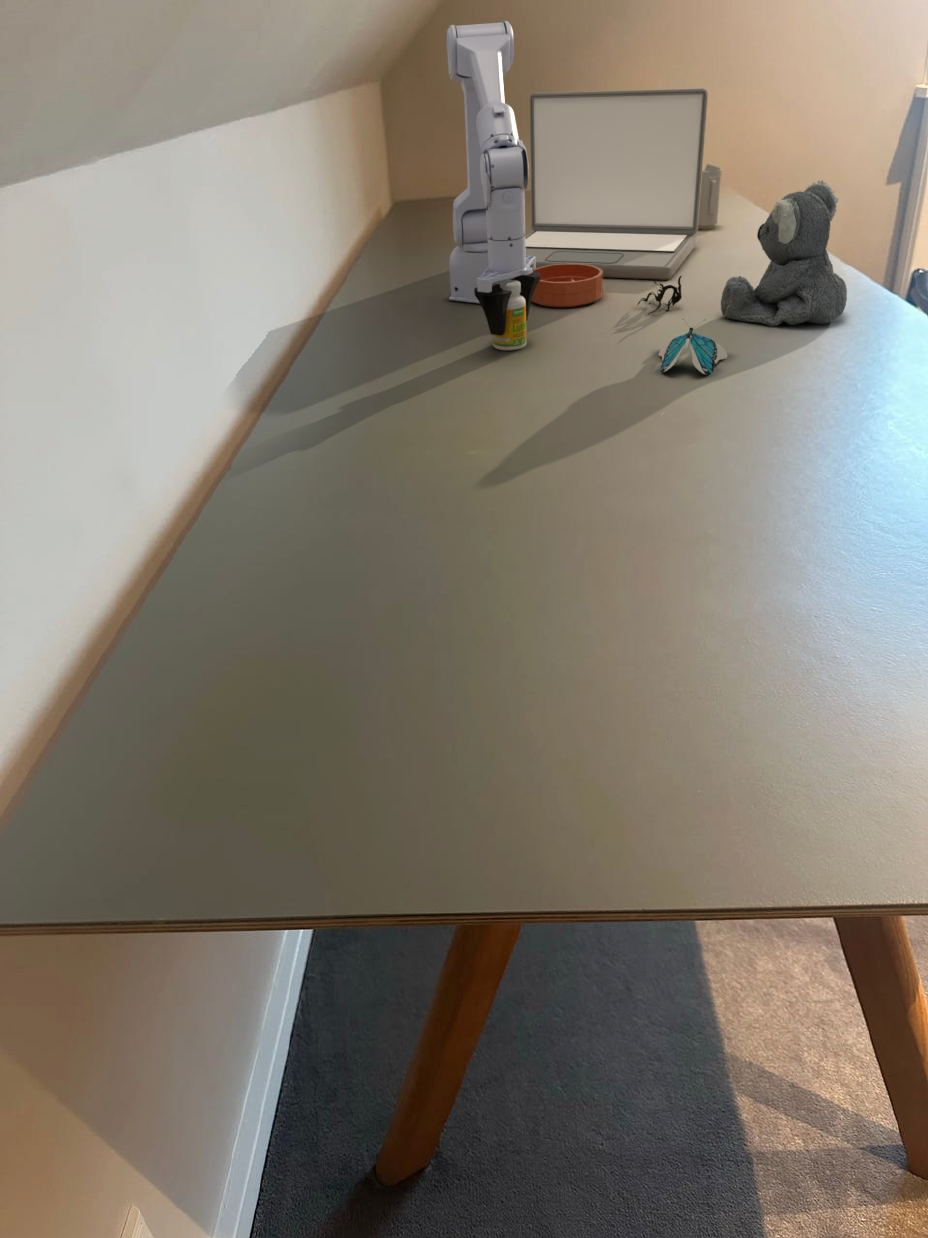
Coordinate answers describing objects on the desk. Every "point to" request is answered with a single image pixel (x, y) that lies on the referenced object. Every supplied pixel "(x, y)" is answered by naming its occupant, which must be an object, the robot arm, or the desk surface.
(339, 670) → the desk surface
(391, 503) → the desk surface
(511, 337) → the supplement bottle
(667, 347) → the decorative butterfly
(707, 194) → the cable organizer
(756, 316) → the koala plush
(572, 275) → the bowl
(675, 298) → the creature
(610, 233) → the laptop
